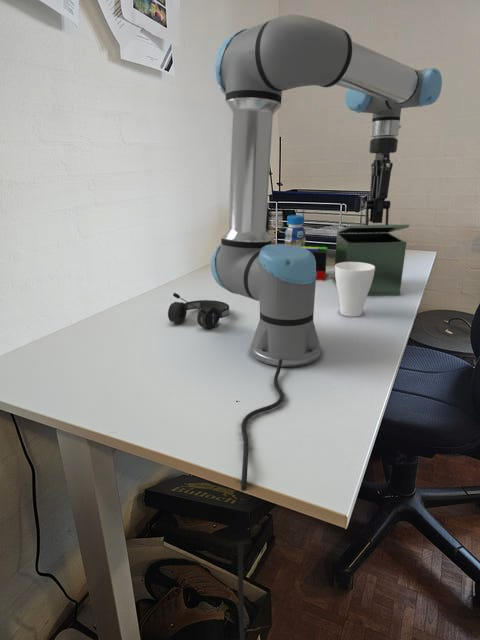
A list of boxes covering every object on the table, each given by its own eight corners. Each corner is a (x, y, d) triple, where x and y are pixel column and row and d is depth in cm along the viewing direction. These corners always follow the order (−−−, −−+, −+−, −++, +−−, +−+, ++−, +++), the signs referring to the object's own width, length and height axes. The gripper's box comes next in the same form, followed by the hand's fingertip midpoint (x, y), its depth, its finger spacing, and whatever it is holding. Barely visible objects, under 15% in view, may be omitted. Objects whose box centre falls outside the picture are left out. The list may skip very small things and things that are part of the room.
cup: (372, 320, 107) (378, 271, 102) (332, 319, 109) (336, 270, 104) (367, 307, 117) (372, 262, 112) (330, 306, 118) (333, 261, 113)
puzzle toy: (296, 278, 147) (297, 251, 143) (299, 272, 156) (300, 246, 152) (324, 280, 145) (326, 252, 141) (325, 273, 154) (327, 247, 150)
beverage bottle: (283, 263, 170) (284, 214, 163) (303, 262, 170) (305, 214, 163) (284, 267, 162) (285, 217, 155) (305, 267, 162) (307, 217, 155)
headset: (155, 290, 101) (197, 279, 118) (156, 327, 103) (196, 311, 121) (201, 297, 95) (238, 284, 113) (201, 335, 98) (237, 317, 115)
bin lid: (409, 227, 119) (410, 199, 118) (349, 228, 120) (350, 199, 119) (388, 232, 137) (389, 208, 136) (337, 233, 138) (337, 208, 137)
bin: (399, 295, 127) (406, 242, 121) (343, 295, 128) (347, 242, 122) (383, 280, 143) (388, 232, 137) (333, 280, 144) (337, 233, 138)
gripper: (406, 135, 107) (396, 225, 115) (389, 139, 121) (380, 218, 130) (378, 136, 107) (369, 225, 116) (364, 140, 122) (357, 219, 130)
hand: (375, 222), depth 123 cm, fingers closed on bin lid, 2 cm apart
